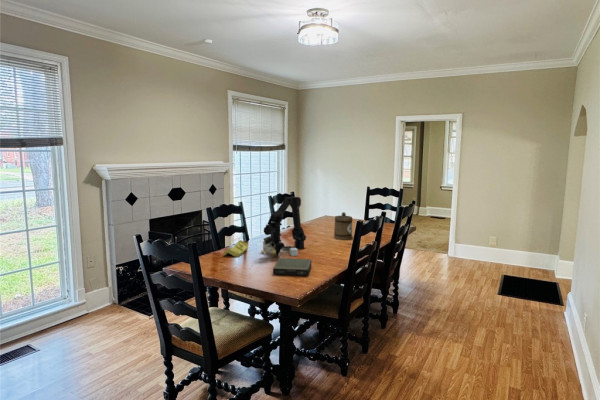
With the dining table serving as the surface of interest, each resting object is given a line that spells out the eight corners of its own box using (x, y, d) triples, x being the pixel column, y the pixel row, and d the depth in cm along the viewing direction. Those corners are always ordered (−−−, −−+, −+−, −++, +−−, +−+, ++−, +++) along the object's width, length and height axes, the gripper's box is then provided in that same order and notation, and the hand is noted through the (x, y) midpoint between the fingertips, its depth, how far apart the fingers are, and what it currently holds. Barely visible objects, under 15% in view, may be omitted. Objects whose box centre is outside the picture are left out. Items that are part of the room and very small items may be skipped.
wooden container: (352, 240, 307) (353, 214, 305) (334, 240, 308) (335, 213, 305) (350, 236, 322) (351, 211, 319) (333, 236, 322) (334, 210, 320)
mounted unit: (291, 248, 278) (291, 238, 277) (295, 251, 270) (295, 240, 269) (261, 251, 270) (261, 240, 269) (264, 254, 262) (264, 242, 261)
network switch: (311, 265, 240) (311, 257, 239) (313, 277, 216) (313, 269, 216) (274, 265, 239) (274, 257, 238) (272, 277, 216) (272, 268, 215)
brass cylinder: (278, 254, 260) (278, 246, 259) (280, 256, 256) (280, 248, 255) (271, 255, 258) (271, 247, 258) (273, 257, 254) (273, 248, 253)
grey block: (295, 254, 264) (295, 247, 264) (297, 255, 260) (297, 249, 260) (289, 254, 263) (289, 248, 262) (291, 256, 259) (291, 249, 258)
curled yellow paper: (238, 254, 253) (226, 247, 255) (234, 263, 255) (222, 256, 257) (250, 245, 272) (238, 238, 273) (246, 253, 274) (235, 247, 276)
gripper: (261, 230, 261) (261, 252, 263) (268, 236, 243) (268, 259, 245) (276, 229, 264) (276, 250, 266) (284, 235, 247) (284, 257, 249)
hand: (276, 254), depth 257 cm, fingers closed on brass cylinder, 5 cm apart
